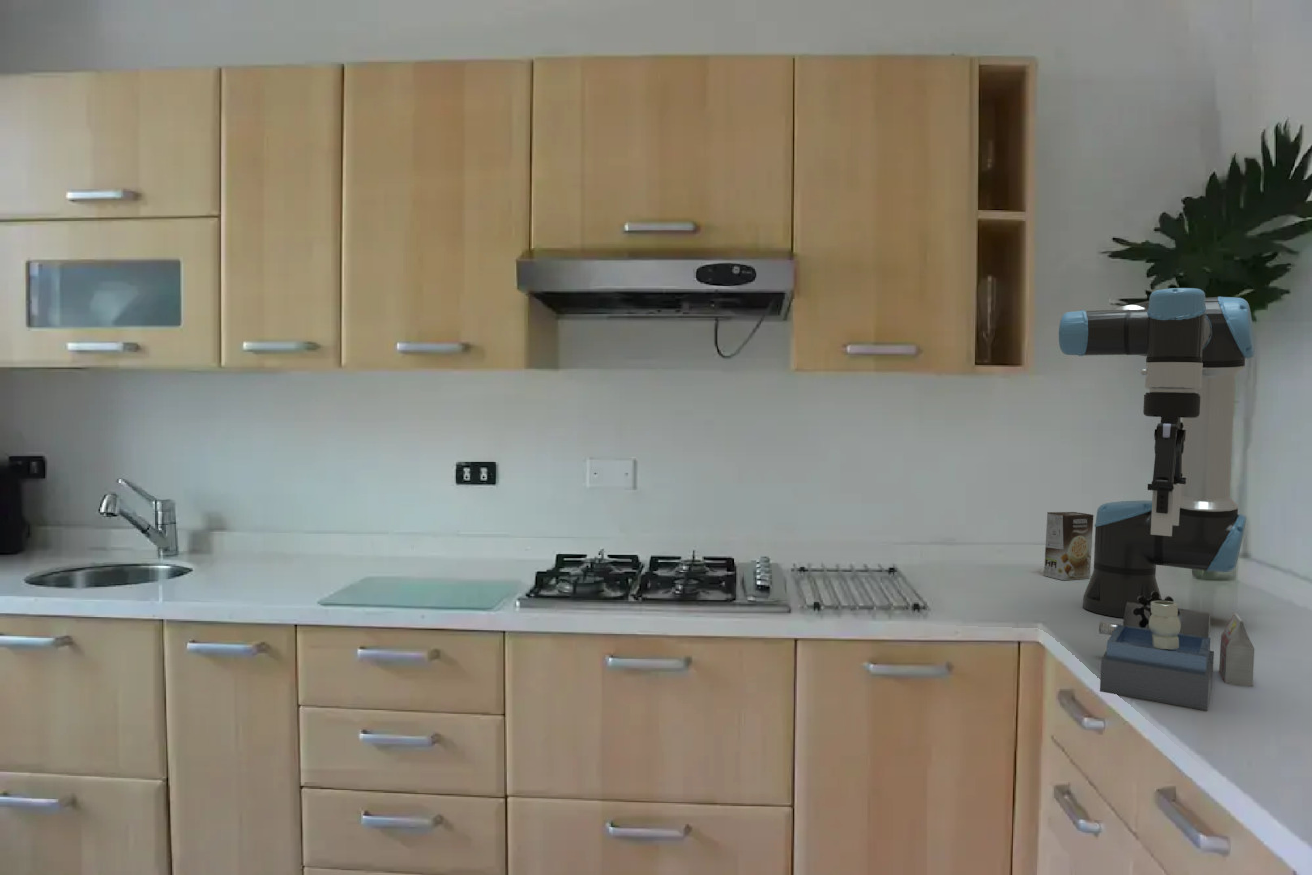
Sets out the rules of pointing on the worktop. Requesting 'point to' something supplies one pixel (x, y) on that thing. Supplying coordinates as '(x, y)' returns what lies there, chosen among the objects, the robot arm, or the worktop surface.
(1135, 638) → the motor
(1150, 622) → the valve
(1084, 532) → the coffee box
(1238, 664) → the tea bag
